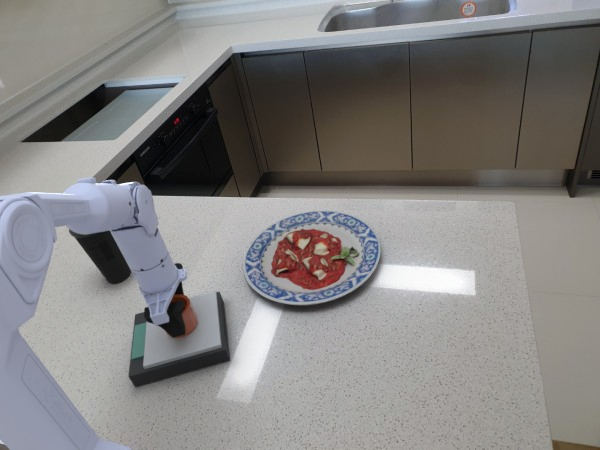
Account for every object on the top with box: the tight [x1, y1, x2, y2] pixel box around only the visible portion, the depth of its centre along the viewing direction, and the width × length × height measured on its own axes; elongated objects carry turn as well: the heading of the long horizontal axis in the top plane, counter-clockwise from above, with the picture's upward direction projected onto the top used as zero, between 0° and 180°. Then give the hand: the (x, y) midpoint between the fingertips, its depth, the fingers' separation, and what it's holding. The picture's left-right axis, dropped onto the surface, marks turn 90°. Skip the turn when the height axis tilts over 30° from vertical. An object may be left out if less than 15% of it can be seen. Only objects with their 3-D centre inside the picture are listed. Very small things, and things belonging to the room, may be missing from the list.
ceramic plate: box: [242, 210, 381, 306], centre depth 86 cm, size 26×26×3 cm
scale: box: [127, 290, 231, 388], centre depth 75 cm, size 15×13×4 cm
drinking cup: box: [68, 228, 132, 285], centre depth 87 cm, size 8×8×20 cm
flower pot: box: [164, 294, 198, 338], centre depth 73 cm, size 5×6×4 cm
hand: (179, 320), depth 74 cm, fingers closed on flower pot, 5 cm apart
